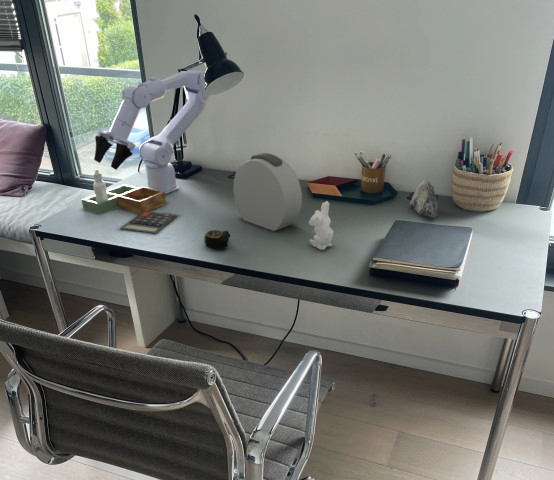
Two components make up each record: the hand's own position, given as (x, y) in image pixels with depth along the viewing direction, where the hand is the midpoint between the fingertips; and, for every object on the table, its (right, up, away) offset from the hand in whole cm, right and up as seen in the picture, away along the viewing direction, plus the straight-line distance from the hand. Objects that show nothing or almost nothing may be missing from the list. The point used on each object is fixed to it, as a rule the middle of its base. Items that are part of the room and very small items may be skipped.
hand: (105, 164), depth 175 cm
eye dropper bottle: (-2, -12, +6) cm, 13 cm away
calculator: (+15, -20, -4) cm, 25 cm away
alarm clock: (+51, -19, -4) cm, 54 cm away
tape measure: (+38, -30, -19) cm, 52 cm away
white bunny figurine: (+66, -30, -19) cm, 75 cm away
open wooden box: (+10, -11, +7) cm, 16 cm away
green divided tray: (0, -9, +9) cm, 13 cm away
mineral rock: (+99, -15, +1) cm, 100 cm away
